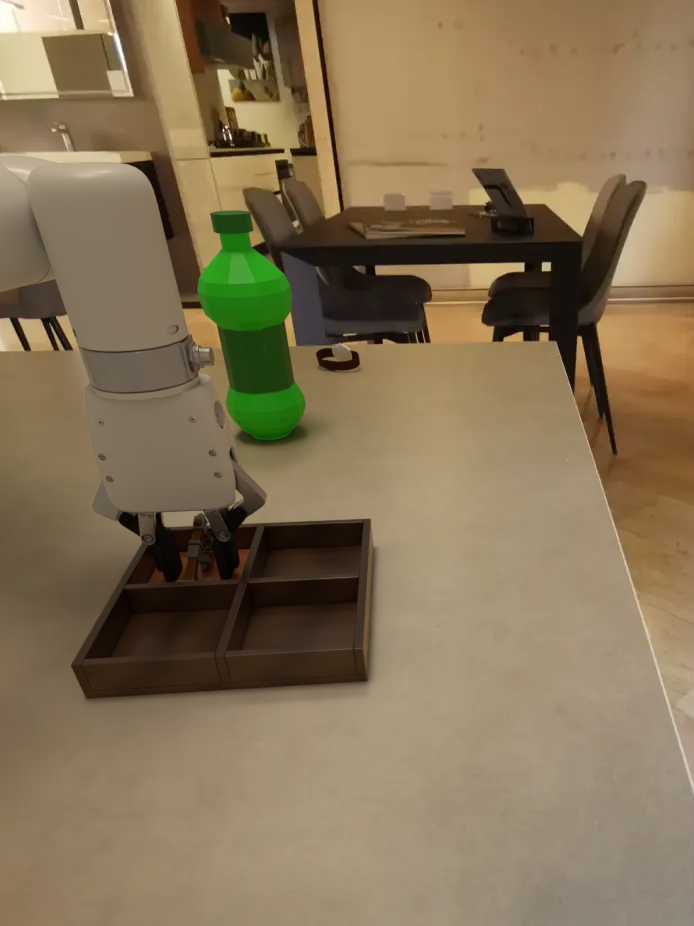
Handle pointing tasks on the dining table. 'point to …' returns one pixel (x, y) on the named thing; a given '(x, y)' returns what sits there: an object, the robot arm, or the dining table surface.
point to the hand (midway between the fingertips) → (201, 573)
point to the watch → (342, 353)
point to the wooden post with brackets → (198, 549)
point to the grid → (239, 615)
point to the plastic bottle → (251, 330)
